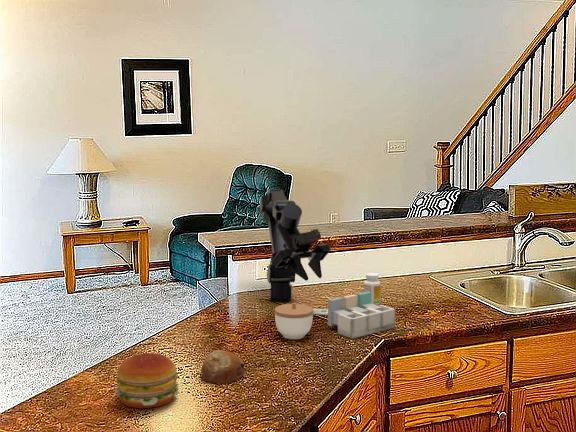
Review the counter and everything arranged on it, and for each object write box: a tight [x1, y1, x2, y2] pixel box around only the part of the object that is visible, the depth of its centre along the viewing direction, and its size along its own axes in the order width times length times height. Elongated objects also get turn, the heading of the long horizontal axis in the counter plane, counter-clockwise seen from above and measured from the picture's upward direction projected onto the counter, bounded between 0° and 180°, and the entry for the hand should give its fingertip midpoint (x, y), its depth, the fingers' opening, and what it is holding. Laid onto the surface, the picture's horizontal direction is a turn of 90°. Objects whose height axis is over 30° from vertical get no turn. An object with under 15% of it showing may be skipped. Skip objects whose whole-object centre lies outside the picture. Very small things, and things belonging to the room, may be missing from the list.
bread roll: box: [200, 349, 246, 384], centre depth 167 cm, size 10×10×8 cm
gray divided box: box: [337, 304, 397, 339], centre depth 202 cm, size 6×17×6 cm, turn 127°
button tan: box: [342, 294, 369, 315], centre depth 205 cm, size 7×4×8 cm, turn 38°
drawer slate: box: [327, 296, 354, 327], centre depth 202 cm, size 7×4×8 cm, turn 38°
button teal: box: [356, 291, 383, 311], centre depth 208 cm, size 7×4×8 cm, turn 38°
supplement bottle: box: [363, 272, 381, 306], centre depth 230 cm, size 5×5×10 cm
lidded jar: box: [274, 302, 314, 340], centre depth 196 cm, size 11×11×9 cm
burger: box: [114, 352, 179, 409], centre depth 152 cm, size 14×14×10 cm
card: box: [313, 308, 328, 316], centre depth 220 cm, size 8×5×1 cm, turn 83°
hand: (314, 278), depth 210 cm, fingers open, 5 cm apart
